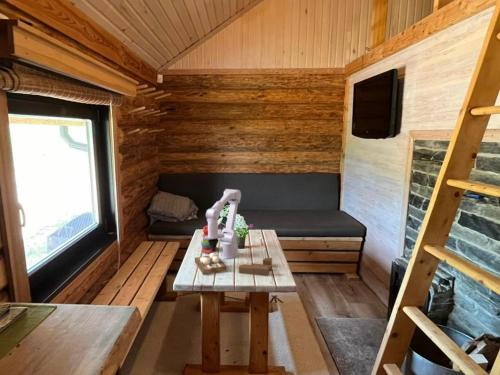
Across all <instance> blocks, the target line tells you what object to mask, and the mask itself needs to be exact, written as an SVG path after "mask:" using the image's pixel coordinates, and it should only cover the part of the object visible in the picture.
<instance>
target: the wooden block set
mask: <svg viewBox="0 0 500 375" xmlns="http://www.w3.org/2000/svg"><path fill="white" fill-rule="evenodd" d="M272 270H273V257H265V258H264V259H263V260H262V263H251V264H245V263H244V264H239V266H238V273H239V274H243V275H244V274H247V275H252V276H264V277H269V274H270V272H272Z"/></svg>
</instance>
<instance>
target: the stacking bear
mask: <svg viewBox="0 0 500 375" xmlns="http://www.w3.org/2000/svg"><path fill="white" fill-rule="evenodd" d="M202 231H203V234H202V235H201V238H203V237H206V236H208V225H205V226H204V227H203V228H202ZM200 243H201V244H200V245H201V252H202V253H203V254H206V255H210V253H215V252H217V251H219V248H218V247H217V246H216V249H215V251H212V250H211V246H210V244H209V242H208V240H207V241H204V242H202V241H201V240H200Z"/></svg>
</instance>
